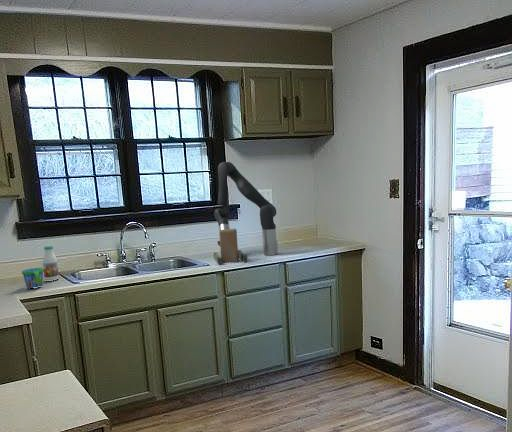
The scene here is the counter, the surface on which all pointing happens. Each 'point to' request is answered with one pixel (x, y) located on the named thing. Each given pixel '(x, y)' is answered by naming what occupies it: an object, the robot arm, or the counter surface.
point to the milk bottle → (50, 264)
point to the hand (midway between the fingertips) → (228, 252)
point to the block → (228, 245)
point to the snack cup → (33, 277)
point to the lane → (240, 255)
